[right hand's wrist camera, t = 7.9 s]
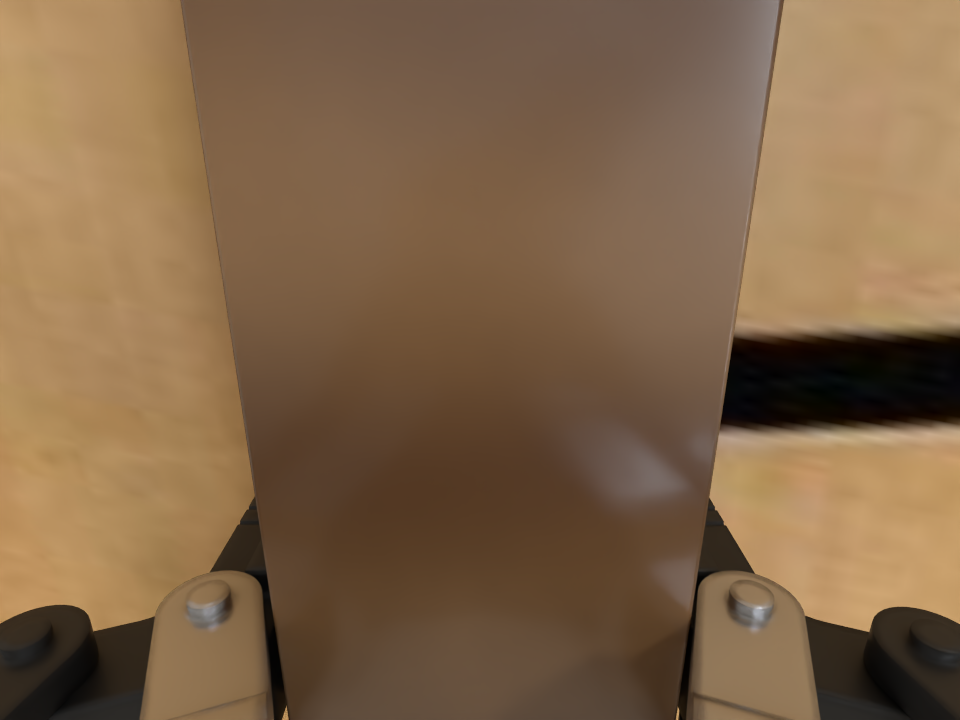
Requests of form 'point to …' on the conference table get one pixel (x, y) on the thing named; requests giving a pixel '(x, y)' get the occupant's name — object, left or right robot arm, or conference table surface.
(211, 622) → the right robot arm
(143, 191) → the conference table surface
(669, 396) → the post
